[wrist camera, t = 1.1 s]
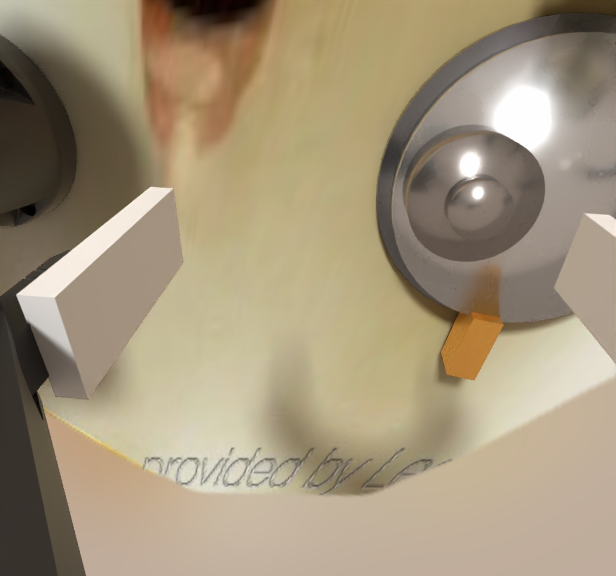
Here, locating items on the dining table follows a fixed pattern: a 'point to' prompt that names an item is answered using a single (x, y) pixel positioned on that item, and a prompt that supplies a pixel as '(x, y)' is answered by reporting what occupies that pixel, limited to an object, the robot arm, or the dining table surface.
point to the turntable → (556, 169)
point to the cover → (472, 193)
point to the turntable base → (442, 80)
